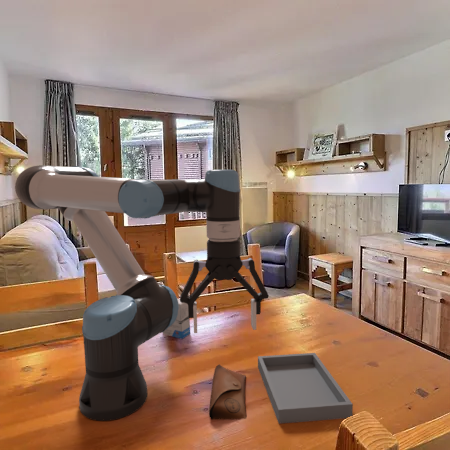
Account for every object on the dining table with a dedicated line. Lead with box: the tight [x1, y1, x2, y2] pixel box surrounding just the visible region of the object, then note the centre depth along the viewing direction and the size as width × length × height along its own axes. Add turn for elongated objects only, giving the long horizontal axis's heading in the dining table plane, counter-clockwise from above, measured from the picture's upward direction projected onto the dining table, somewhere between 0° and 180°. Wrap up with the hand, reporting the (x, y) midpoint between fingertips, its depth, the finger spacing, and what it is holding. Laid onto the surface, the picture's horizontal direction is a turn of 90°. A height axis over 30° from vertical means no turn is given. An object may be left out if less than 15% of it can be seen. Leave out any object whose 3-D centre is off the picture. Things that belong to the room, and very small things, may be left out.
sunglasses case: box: [208, 364, 247, 420], centre depth 84 cm, size 18×7×7 cm
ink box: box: [162, 297, 191, 340], centre depth 118 cm, size 9×5×12 cm, turn 58°
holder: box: [257, 352, 354, 424], centre depth 86 cm, size 16×23×3 cm
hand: (224, 329), depth 83 cm, fingers open, 13 cm apart
